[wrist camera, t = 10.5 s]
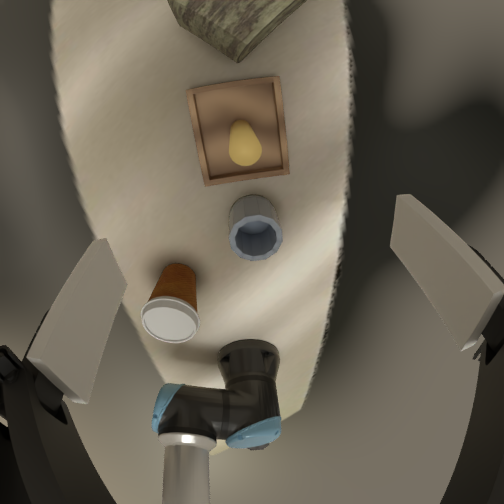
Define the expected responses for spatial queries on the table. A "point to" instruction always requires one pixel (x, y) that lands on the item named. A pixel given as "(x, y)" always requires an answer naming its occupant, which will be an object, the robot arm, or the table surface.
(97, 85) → the table surface
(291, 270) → the table surface
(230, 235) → the pen cup
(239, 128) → the dowel
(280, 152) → the tray
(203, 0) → the tabletop clock
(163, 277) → the disposable coffee cup
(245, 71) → the table surface
